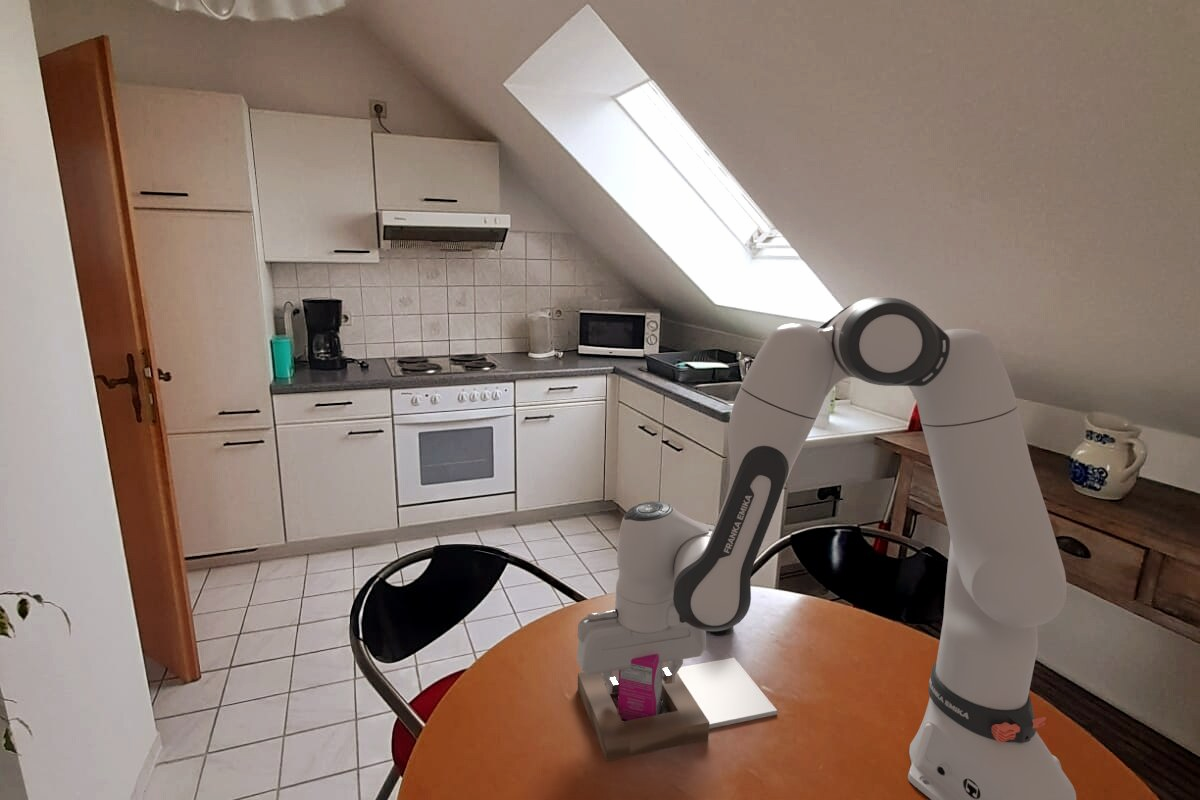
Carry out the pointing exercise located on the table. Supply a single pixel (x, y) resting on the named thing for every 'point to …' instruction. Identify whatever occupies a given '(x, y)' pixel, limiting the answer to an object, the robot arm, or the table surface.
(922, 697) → the table surface
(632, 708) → the supplement box
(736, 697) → the white rectangular plate
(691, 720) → the walnut holder
